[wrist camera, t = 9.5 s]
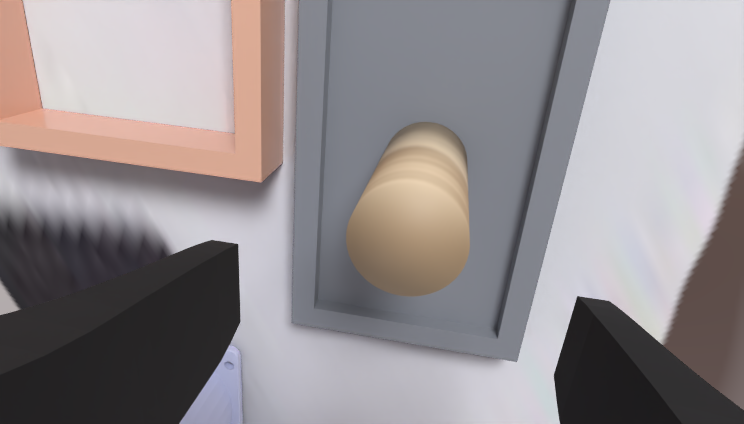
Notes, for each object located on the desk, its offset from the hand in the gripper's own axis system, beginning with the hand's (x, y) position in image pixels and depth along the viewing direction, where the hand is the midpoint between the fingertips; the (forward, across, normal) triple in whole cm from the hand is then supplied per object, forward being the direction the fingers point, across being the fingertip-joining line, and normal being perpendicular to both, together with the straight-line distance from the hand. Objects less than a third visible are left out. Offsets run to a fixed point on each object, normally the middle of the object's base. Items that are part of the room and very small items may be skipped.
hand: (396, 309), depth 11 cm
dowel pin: (+10, 0, 0) cm, 10 cm away
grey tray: (+10, 0, 0) cm, 10 cm away
